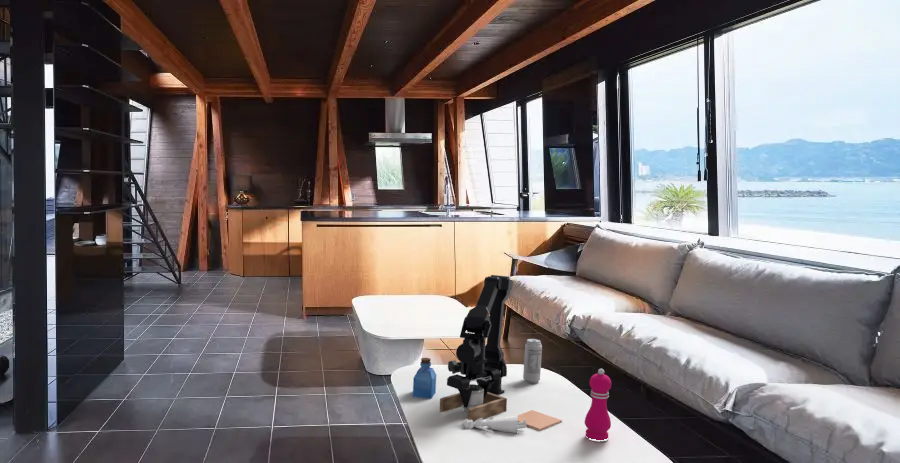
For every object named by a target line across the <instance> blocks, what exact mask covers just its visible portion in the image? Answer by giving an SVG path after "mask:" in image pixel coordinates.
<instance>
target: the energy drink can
mask: <svg viewBox="0 0 900 463" xmlns="http://www.w3.org/2000/svg"><path fill="white" fill-rule="evenodd" d="M542 351H543V345H542V342H541V340H540V339H536V338H528V339H526V342H525V344H524V355H523V356H524V359H523V376H522V377H523V380H524V382H525V383H526V384H527V383H528V384H538V383H539V381H540V380H541V371H542V368H541V367H542V366H541V365H542V354H543V353H542Z"/></svg>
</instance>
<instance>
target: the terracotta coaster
mask: <svg viewBox="0 0 900 463" xmlns="http://www.w3.org/2000/svg"><path fill="white" fill-rule="evenodd" d="M516 416H518V422H524V420H525V419H526V427H528V428H531V429H534V430H536V431H540V432H541V431H543V429H544V430H545V429H548V427H549V428H551V427H553V426H555V424H556V425H558V424H561V423H563V419H559V418H557V417H553V416H551V415H549V414H545V413H542V412H540V411H537V410H533V409H531V410H529V411H526V412H524V413H523V412H522V413H521V414H520V413H519V414H517V415H516ZM560 422H561V423H560ZM557 423H558V424H557ZM550 426H551V427H550Z"/></svg>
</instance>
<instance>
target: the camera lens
mask: <svg viewBox="0 0 900 463" xmlns="http://www.w3.org/2000/svg"><path fill="white" fill-rule="evenodd" d="M470 387H472V388H473V389H472V393H471V396H470V400H469V404H468V407H467V408H466V407H464V405H463V406H462V409H463V412H464V413H465V414H468V409H469V408H473V407H476V406H479V405H482V404H483V396H484V389H483V388H482V387H481V386H479V385H478V384H472V383H470Z"/></svg>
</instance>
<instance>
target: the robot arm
mask: <svg viewBox="0 0 900 463" xmlns="http://www.w3.org/2000/svg"><path fill="white" fill-rule="evenodd" d="M513 283H514V282H513V279H511V278H510V276H508V275H506V276H505V275H497V274H491V275H490V276H485V278H484V282H483V287H482V290H481V292H480V294H479V297H478V299H477V302H476V304H475V306H474V307H473V308H471V309H470V310H469V311H468V312H467V315H466V316H465V317H464V319H463V324H462V327H461V331H460V335H459V338H461V339H463V340H462V343H461V344H460V345H459V346H457V347H456V350H455V354H456V358H457V359H458V362H457V360H456V359H454V360H449V361H448V363H447V369H448V372H452V373H451V374H452V375H450V376H448V377H447V378H446V386H448V387H450V388H454V389H455V390H458V393H460V395H461V399H462V402H463V405H464V407H466V408H467V407H468V404H469V400H470V396H471V393H472V389H473V388H472V387H470V384H471V383H472V382H475V381H476V383H477V384H476V385H479V386H481V387H482V388H483V389H484V396H483V399H484V397H485V396H486V394H487V392H489V393H492V394H495V395H500V394H503V393H505V390H503V389H502V379H503V378H504V377H505V378H506V377H508V376H507V374H508V370H507V369H508V366H507V364H506V360H505V353H504V351H503V349H502V346H501V340H502V332H503V330H502V329H503V318H504V310H505V302H506V301H507V300H508V298H509V297H510V295H511V291H512V290H513V287H514V286H513ZM457 373H460V374H457ZM464 375H465V376H464Z"/></svg>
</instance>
